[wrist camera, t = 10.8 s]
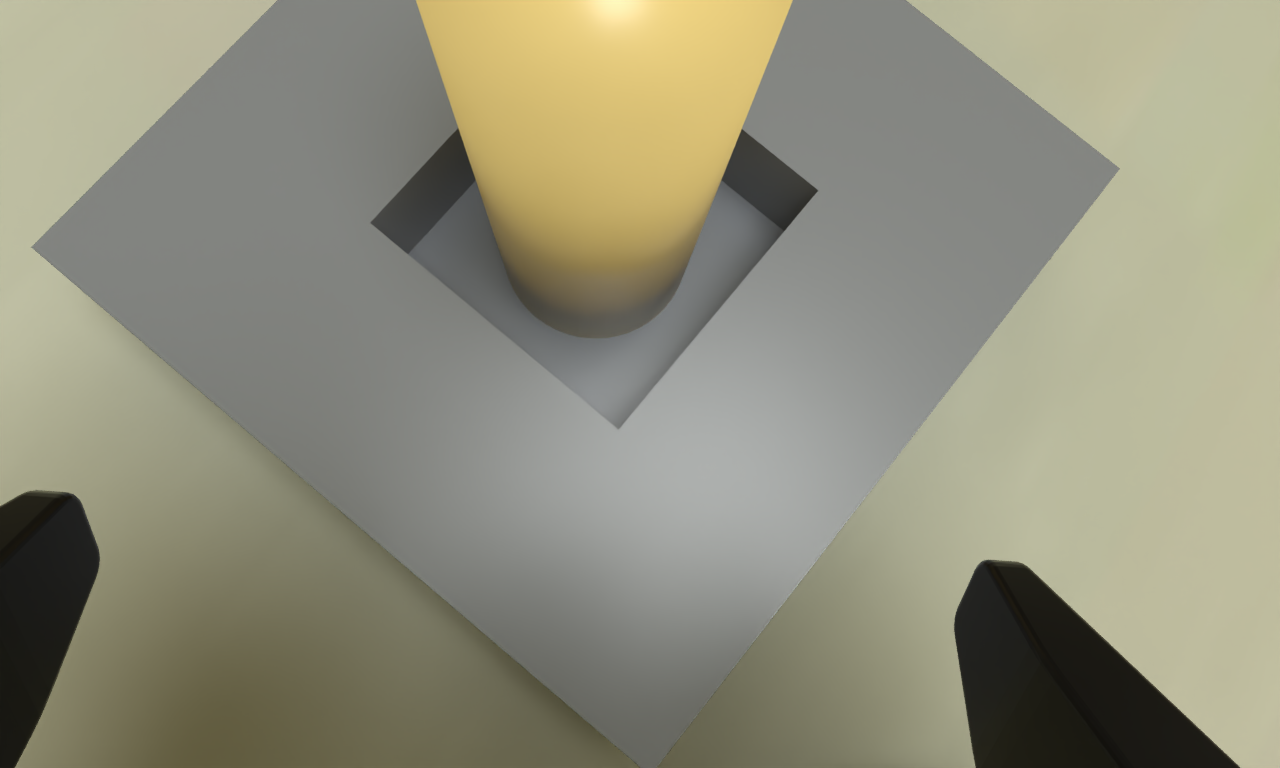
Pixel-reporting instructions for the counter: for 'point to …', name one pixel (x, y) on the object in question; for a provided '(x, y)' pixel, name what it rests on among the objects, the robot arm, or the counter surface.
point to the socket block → (575, 366)
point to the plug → (600, 138)
